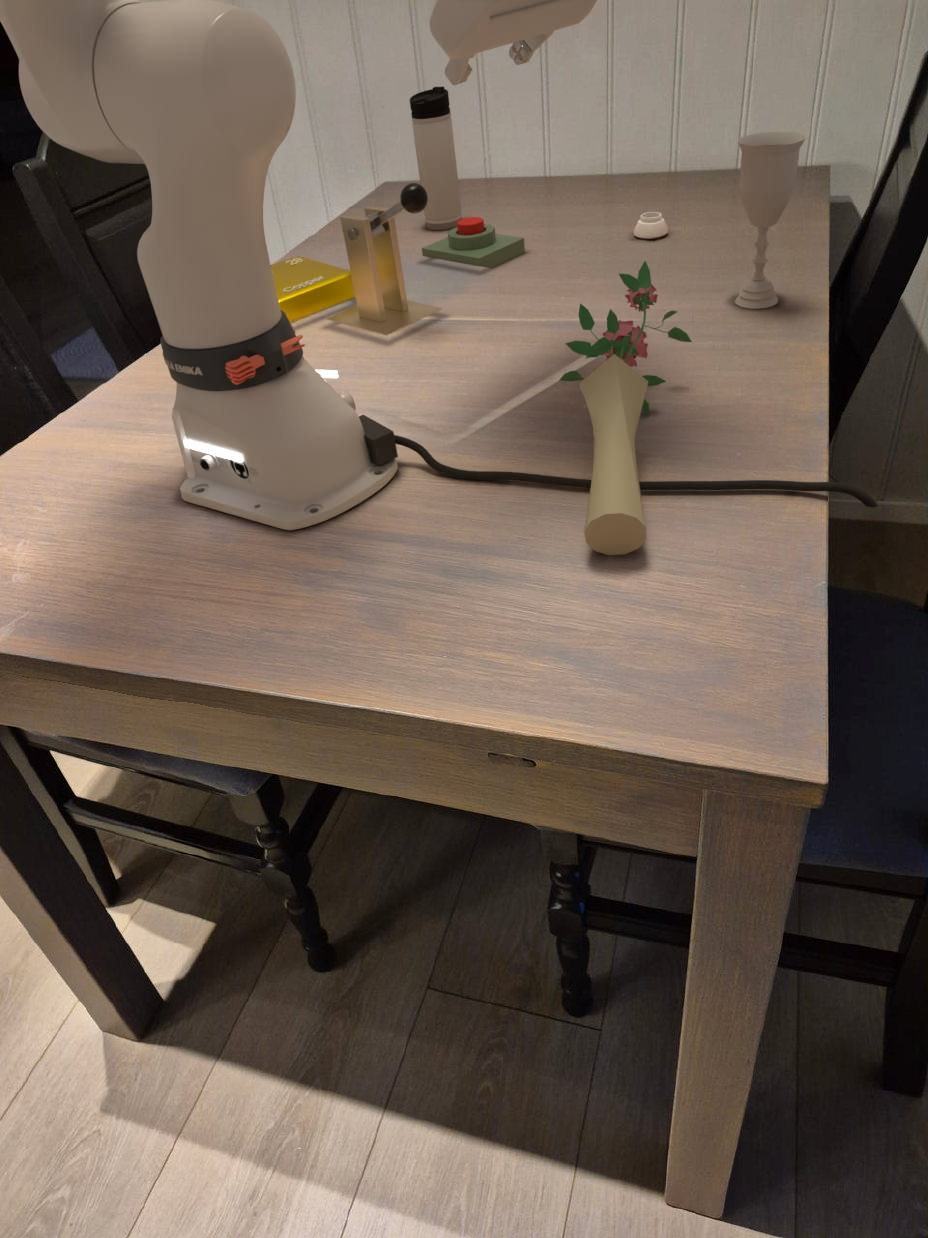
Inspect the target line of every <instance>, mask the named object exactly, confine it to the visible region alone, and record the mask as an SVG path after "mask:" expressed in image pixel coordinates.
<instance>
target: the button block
mask: <svg viewBox="0 0 928 1238" xmlns="http://www.w3.org/2000/svg"><path fill="white" fill-rule="evenodd" d="M484 229H485V231H484V232H482V233H479V234H475V235H465V236H464V235H458V228H457V227H456V228H452V229H449V231H448V233H447V237H444V238H442V239H440V240H437V241H435V242H433V243H430V244H427V245H426V246H423V247H421V253H422V254H421V255H422V256H423V257H428V258H434V259H438V260H444V261H449V262H455V263H460V264H466V265H471V266H476V267H482V268H488V269H493V268H496V267H498V266H499V265H502V264H504V263H506V262H508V261H510V260H512V259H515V258H517V257H519V256H521V255H523V254H525V253H526V247H525V237H520V236H513V235H507V234H500V233H496V227H494V226H493V225H492V224H489V223H484Z"/></svg>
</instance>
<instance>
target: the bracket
mask: <svg viewBox="0 0 928 1238" xmlns="http://www.w3.org/2000/svg"><path fill="white" fill-rule="evenodd" d="M389 208H390V207H381V206H376V205H368V206H365V207H364V208H363V210H364V215H365V216H368V215H371V214H373V213H376V212H377V213H378V215H380V214H382V213H383V212H385V211H386V210H388V209H389ZM365 216H358V215H352V214H343V215H341V216H339V218H340V224H341V228H342V235H343V238H344V244H345V250H346V254H347V259H348V264H349V265H348V266H349V271H350V272H351V276H352V281H353V287H354V292H355V296H354V298H355V302H356V305H354V306H352V307H350V308H347V309H344V310H343V311H340V312H339V313H336V314H334V315H332V316H330V317H327V318H326V320H327V321H331V322H334V323H338V324H343V325H346V326H349V327H352V328H357V329H361V330H365V331H368V332H372V333H375V334H380V335H383V336H387V337H388V336H390V335H391V334H393V333H395V332H398V331H400V330H402V329H404V328H406V327H408V326H410V325H412V324H414V323H416V322H419V321H421V320H422V319H425V318H426V317H428V316H431V315H433V314H435V313H437V312H439V311H441V310H443V308H442V307H439V306H436V305H435V306H434V305H431V304H426V303H422V302H418V301H413V300H408V297H407V290H406V284H405V278H404V271H403V266H402V259H401V252H400V247H399V240H398V239H399V238H398V232H397V227H396V226H397V225H396V220H395V217H394V218H393V219H391V220H390V221H388V222H387V223H385V224H383V226H384V229H385V232H384V233H382V234H380V235H379V236H377V237H376V238H374V239H373V238H372V232H371V226H370V220H369V218H365Z"/></svg>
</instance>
